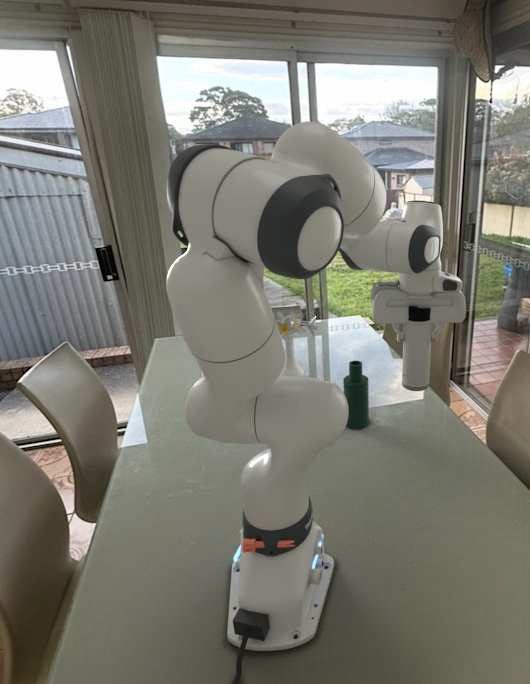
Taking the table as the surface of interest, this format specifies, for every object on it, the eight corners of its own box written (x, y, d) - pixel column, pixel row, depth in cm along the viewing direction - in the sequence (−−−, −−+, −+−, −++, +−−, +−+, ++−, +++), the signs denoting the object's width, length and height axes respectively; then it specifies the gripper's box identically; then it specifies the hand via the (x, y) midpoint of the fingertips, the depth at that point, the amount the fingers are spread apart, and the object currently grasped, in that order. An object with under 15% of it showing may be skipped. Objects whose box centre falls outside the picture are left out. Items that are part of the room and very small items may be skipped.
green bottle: (369, 428, 125) (368, 368, 119) (344, 429, 125) (342, 368, 118) (368, 415, 132) (367, 357, 125) (344, 416, 132) (343, 358, 125)
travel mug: (397, 388, 101) (398, 305, 94) (408, 377, 107) (410, 297, 99) (422, 394, 98) (426, 308, 91) (432, 382, 104) (437, 301, 97)
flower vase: (325, 381, 154) (322, 313, 145) (276, 395, 144) (269, 323, 135) (308, 368, 164) (304, 304, 155) (261, 381, 155) (254, 313, 146)
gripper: (371, 284, 90) (371, 346, 95) (470, 283, 91) (465, 345, 96) (370, 277, 96) (370, 336, 101) (463, 276, 97) (458, 335, 102)
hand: (417, 340), depth 98 cm, fingers closed on travel mug, 6 cm apart
